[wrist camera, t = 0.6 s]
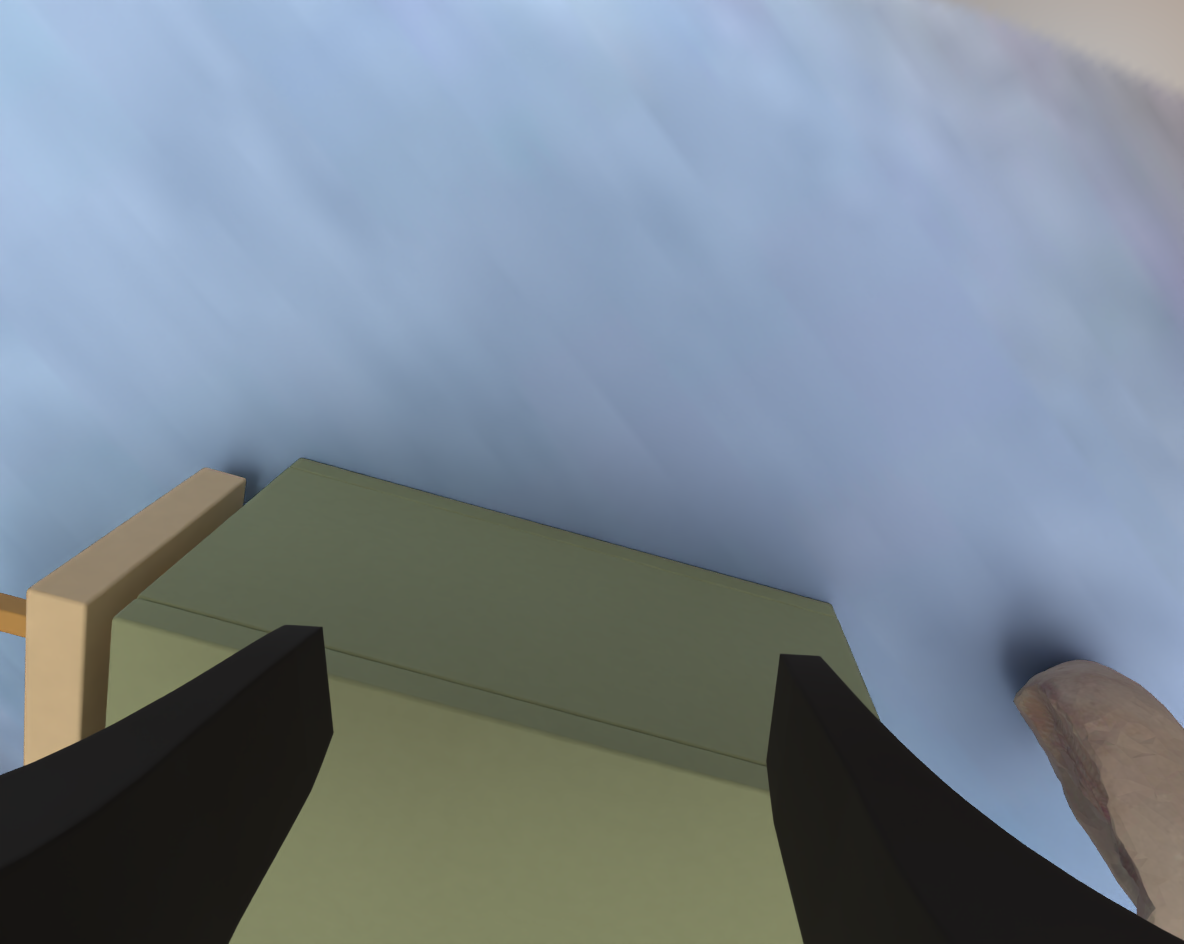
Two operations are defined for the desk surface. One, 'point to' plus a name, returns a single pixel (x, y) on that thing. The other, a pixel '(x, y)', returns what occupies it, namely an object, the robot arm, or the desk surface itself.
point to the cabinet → (497, 720)
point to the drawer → (102, 607)
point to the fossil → (1117, 777)
